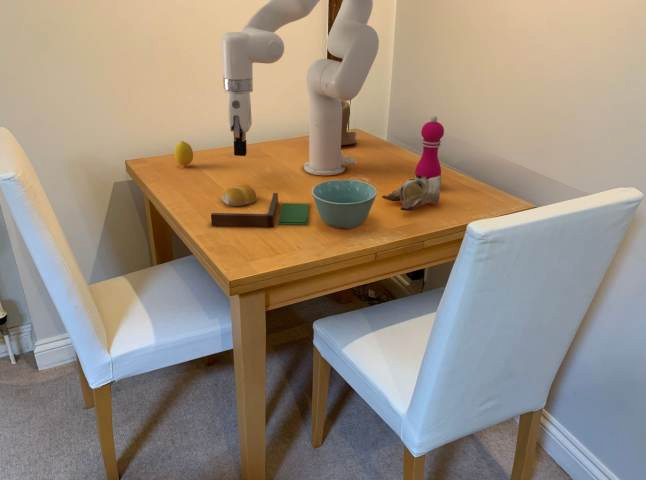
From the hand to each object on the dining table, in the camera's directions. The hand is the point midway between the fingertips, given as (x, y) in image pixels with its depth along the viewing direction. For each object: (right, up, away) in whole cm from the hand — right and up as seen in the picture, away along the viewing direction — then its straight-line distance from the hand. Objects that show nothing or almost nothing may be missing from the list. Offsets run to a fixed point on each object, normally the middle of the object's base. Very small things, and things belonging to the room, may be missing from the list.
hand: (240, 154), depth 159 cm
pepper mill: (+52, -8, +6) cm, 53 cm away
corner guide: (+3, -18, -11) cm, 21 cm away
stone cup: (+29, +12, +41) cm, 51 cm away
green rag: (+15, -18, -11) cm, 25 cm away
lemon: (-19, +1, +21) cm, 29 cm away
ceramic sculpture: (+46, -15, -5) cm, 49 cm away
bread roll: (0, -13, -3) cm, 14 cm away
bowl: (+27, -20, -14) cm, 37 cm away
